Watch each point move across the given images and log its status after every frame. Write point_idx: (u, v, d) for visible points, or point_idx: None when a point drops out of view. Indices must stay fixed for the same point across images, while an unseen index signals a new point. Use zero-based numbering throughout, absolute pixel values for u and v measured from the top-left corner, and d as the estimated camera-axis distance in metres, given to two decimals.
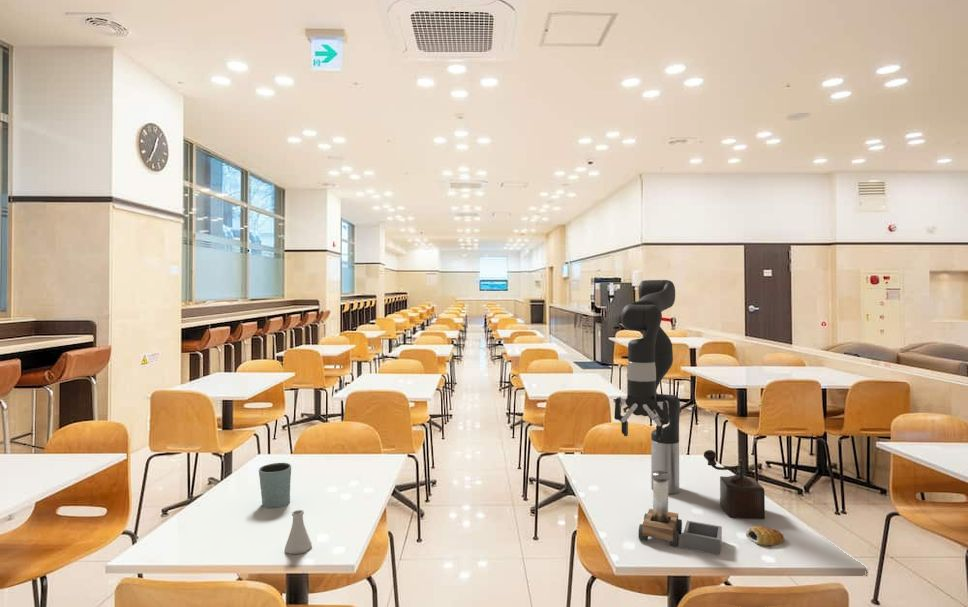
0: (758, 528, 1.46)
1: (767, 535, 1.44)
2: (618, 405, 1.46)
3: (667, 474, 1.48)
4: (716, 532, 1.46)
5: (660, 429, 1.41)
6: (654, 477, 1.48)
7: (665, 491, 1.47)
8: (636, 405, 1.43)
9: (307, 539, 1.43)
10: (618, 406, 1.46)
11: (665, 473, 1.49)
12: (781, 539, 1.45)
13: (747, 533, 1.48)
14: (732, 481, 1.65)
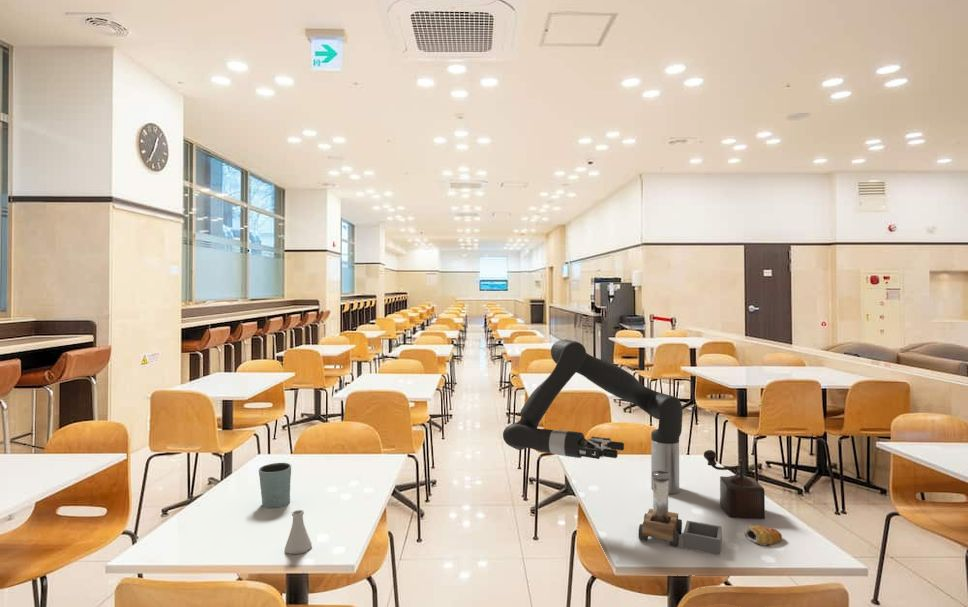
0: (757, 527, 1.47)
1: (766, 535, 1.44)
2: None
3: (667, 474, 1.48)
4: (716, 532, 1.46)
5: None
6: (654, 477, 1.48)
7: (665, 491, 1.47)
8: None
9: (307, 539, 1.43)
10: None
11: (665, 473, 1.49)
12: (779, 538, 1.45)
13: (746, 532, 1.48)
14: (733, 481, 1.65)
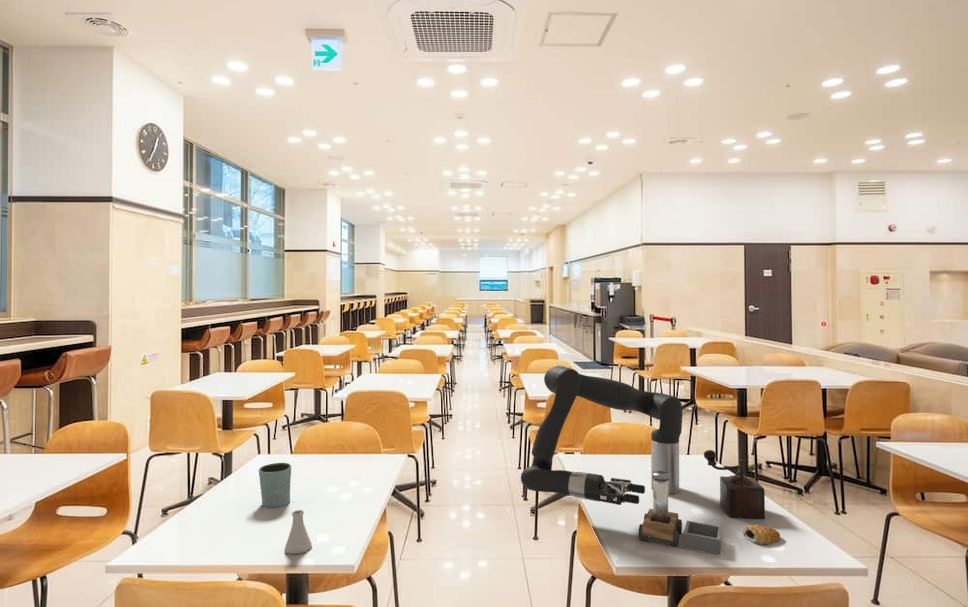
0: (755, 527, 1.47)
1: (764, 534, 1.44)
2: None
3: (667, 474, 1.48)
4: (716, 532, 1.46)
5: None
6: (654, 477, 1.48)
7: (665, 491, 1.47)
8: None
9: (307, 539, 1.43)
10: None
11: (665, 473, 1.49)
12: (777, 537, 1.46)
13: (744, 532, 1.48)
14: (733, 481, 1.65)
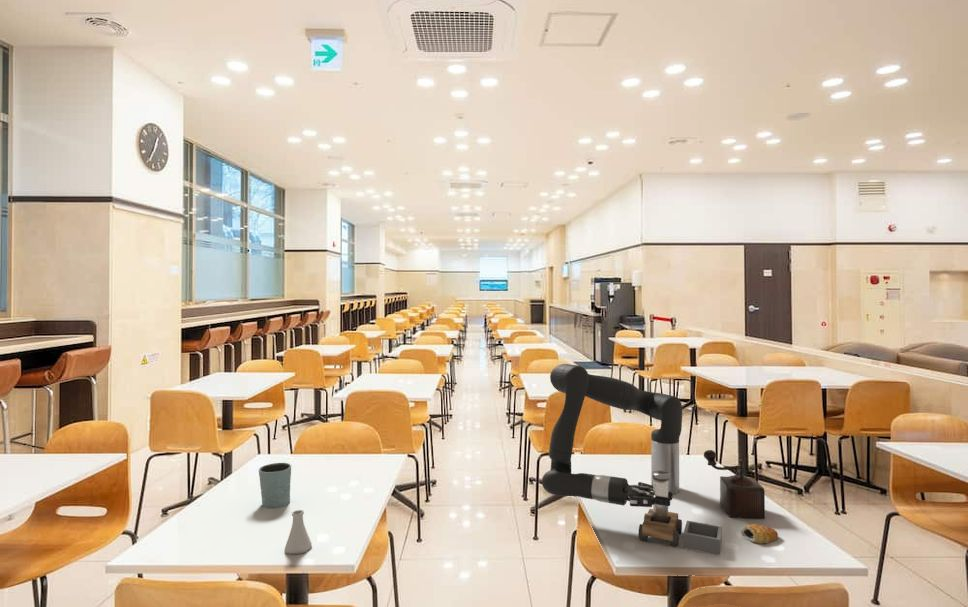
0: (753, 526, 1.48)
1: (763, 533, 1.45)
2: None
3: (667, 474, 1.48)
4: (716, 532, 1.46)
5: None
6: (654, 477, 1.48)
7: (665, 491, 1.47)
8: None
9: (307, 539, 1.43)
10: None
11: (665, 473, 1.49)
12: (776, 536, 1.46)
13: (742, 531, 1.49)
14: (733, 481, 1.65)
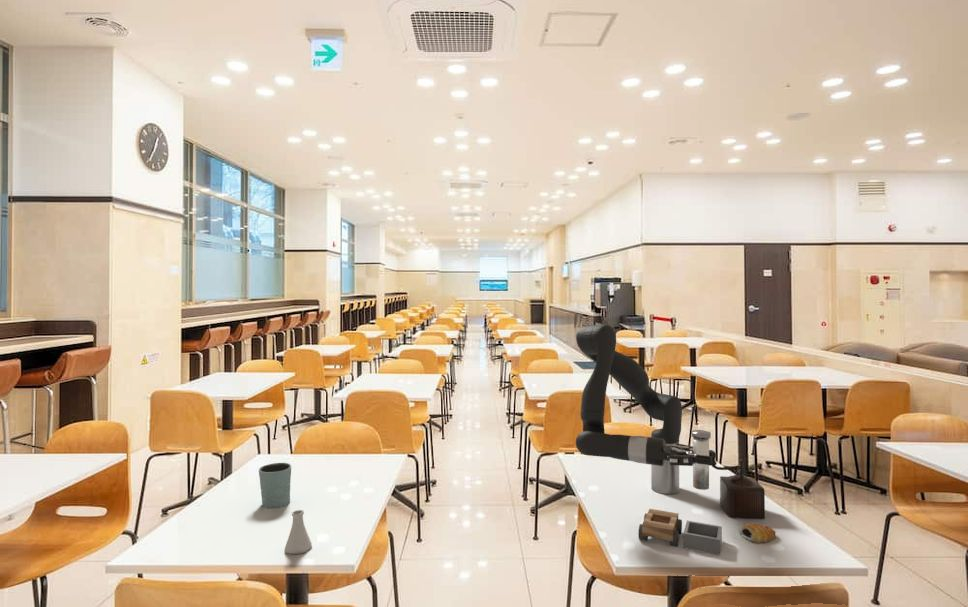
0: (751, 525, 1.48)
1: (761, 532, 1.45)
2: None
3: (708, 432, 1.43)
4: (716, 532, 1.46)
5: None
6: (695, 435, 1.43)
7: (706, 449, 1.42)
8: None
9: (307, 539, 1.43)
10: None
11: (706, 432, 1.44)
12: (773, 535, 1.47)
13: (740, 531, 1.49)
14: (733, 481, 1.65)
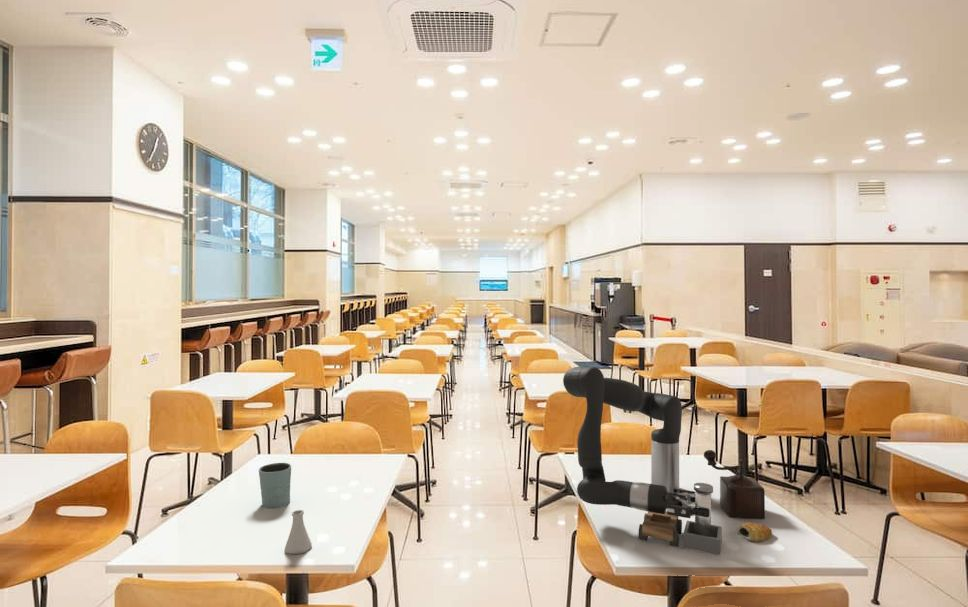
0: (748, 524, 1.49)
1: (758, 531, 1.46)
2: None
3: (710, 487, 1.43)
4: (716, 532, 1.46)
5: None
6: (697, 489, 1.43)
7: (708, 504, 1.42)
8: None
9: (307, 539, 1.43)
10: None
11: (708, 485, 1.44)
12: (770, 534, 1.48)
13: (738, 530, 1.50)
14: (733, 481, 1.65)
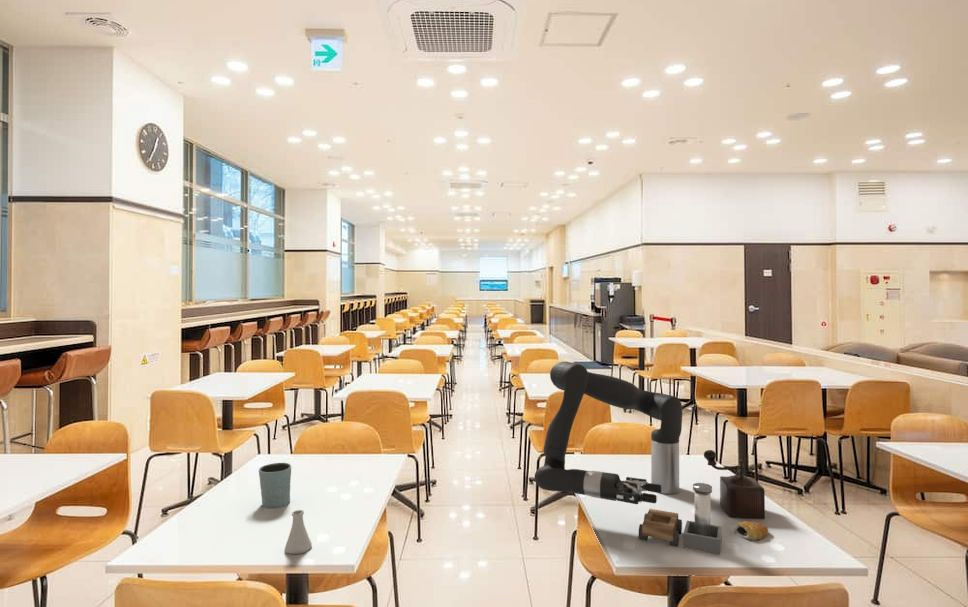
0: (745, 523, 1.50)
1: (756, 530, 1.47)
2: None
3: (709, 487, 1.43)
4: (716, 532, 1.46)
5: None
6: (696, 490, 1.43)
7: (708, 504, 1.42)
8: None
9: (307, 539, 1.43)
10: None
11: (707, 485, 1.44)
12: (766, 532, 1.49)
13: (735, 529, 1.50)
14: (733, 481, 1.65)
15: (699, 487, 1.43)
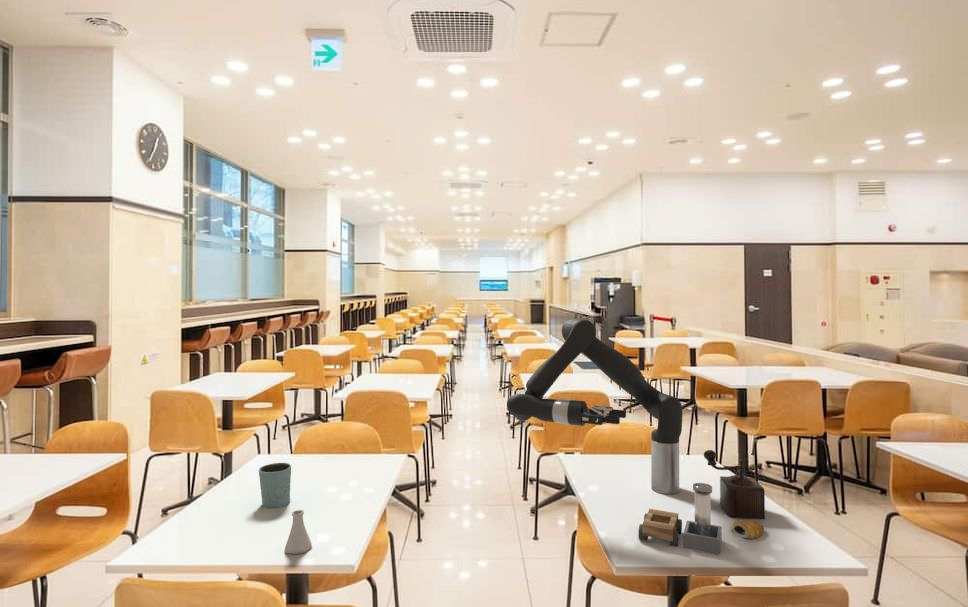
0: (742, 522, 1.50)
1: (753, 528, 1.48)
2: None
3: (709, 487, 1.43)
4: (716, 532, 1.46)
5: None
6: (696, 490, 1.43)
7: (708, 504, 1.42)
8: None
9: (307, 539, 1.43)
10: None
11: (707, 485, 1.44)
12: (763, 530, 1.50)
13: (732, 528, 1.51)
14: (733, 481, 1.65)
15: (699, 487, 1.43)
